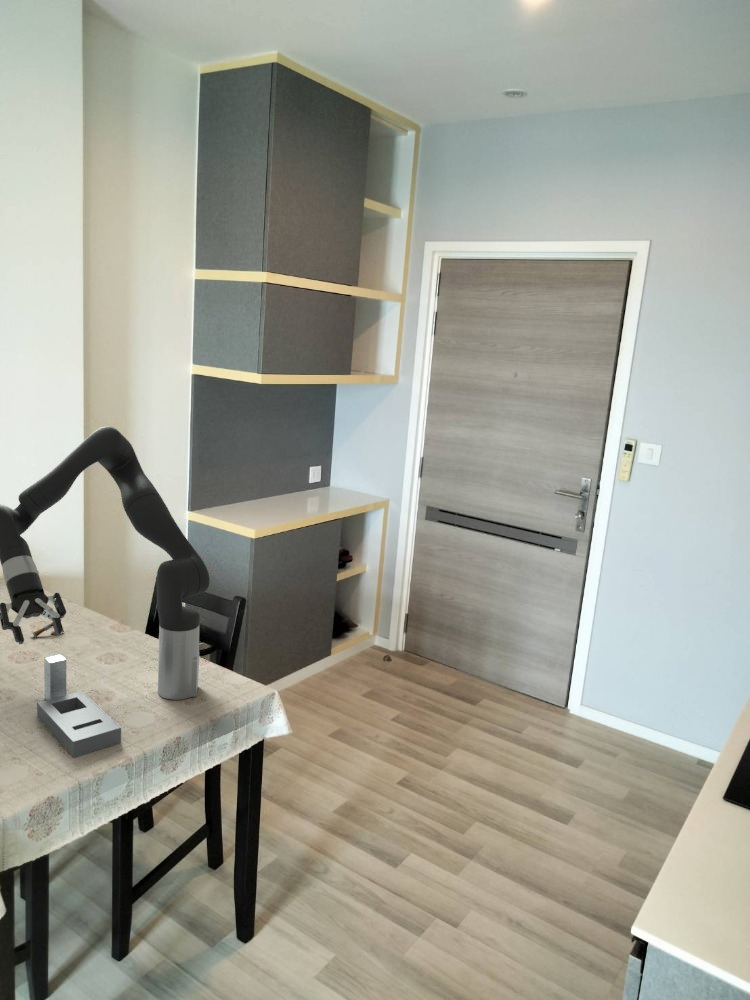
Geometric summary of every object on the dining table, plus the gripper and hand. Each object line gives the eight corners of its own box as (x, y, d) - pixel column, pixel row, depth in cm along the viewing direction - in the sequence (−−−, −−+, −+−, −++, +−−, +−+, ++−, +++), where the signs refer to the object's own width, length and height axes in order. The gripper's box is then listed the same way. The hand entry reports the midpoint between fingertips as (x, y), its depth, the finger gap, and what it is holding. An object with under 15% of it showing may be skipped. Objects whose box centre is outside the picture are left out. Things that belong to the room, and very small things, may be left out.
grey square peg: (44, 698, 175) (44, 657, 173) (60, 694, 177) (60, 654, 175) (50, 704, 172) (50, 663, 170) (66, 700, 174) (66, 659, 172)
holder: (37, 717, 166) (37, 702, 165) (82, 705, 173) (82, 690, 172) (73, 757, 152) (73, 741, 151) (120, 742, 159) (121, 727, 158)
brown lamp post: (67, 630, 211) (60, 617, 209) (40, 646, 207) (32, 633, 205) (66, 628, 213) (59, 615, 211) (38, 643, 209) (31, 630, 207)
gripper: (48, 580, 191) (67, 638, 186) (-13, 591, 182) (5, 652, 176) (56, 566, 186) (75, 625, 181) (-7, 576, 177) (12, 638, 171)
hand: (40, 638), depth 178 cm, fingers open, 8 cm apart
